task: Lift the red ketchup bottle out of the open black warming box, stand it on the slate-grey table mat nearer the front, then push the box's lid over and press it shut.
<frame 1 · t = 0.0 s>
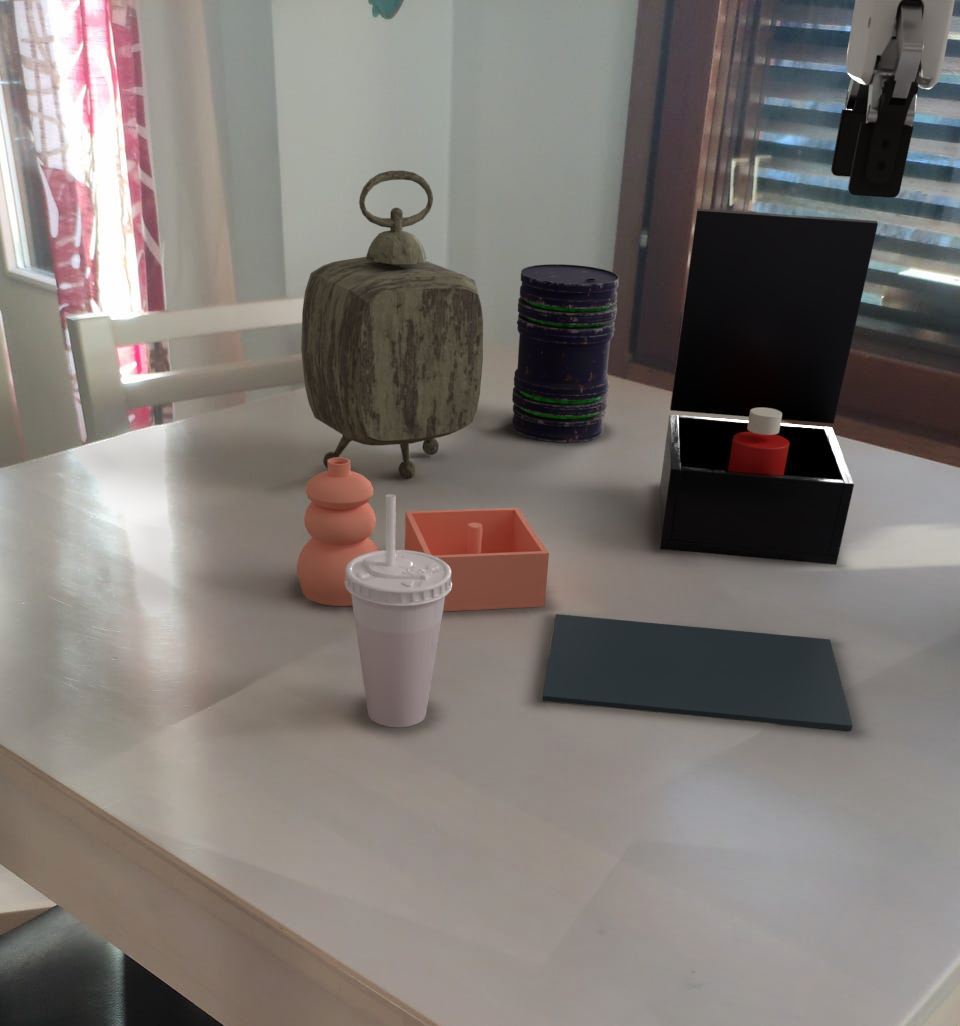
hand: (862, 185, 85), 28 cm above the table, tool pointing down, fingers open, 9 cm apart
smoothie: (397, 715, 80), on the table
tabletop clock: (396, 473, 118), on the table
ketchup: (746, 527, 108), point 1 cm above the table, touching warming box
warming box: (742, 524, 111), on the table
lid: (768, 320, 108), point 15 cm above the table, hinge at 85.0°
pottery: (415, 588, 97), on the table
mat: (693, 671, 87), on the table
dark purple barrel: (557, 430, 132), on the table
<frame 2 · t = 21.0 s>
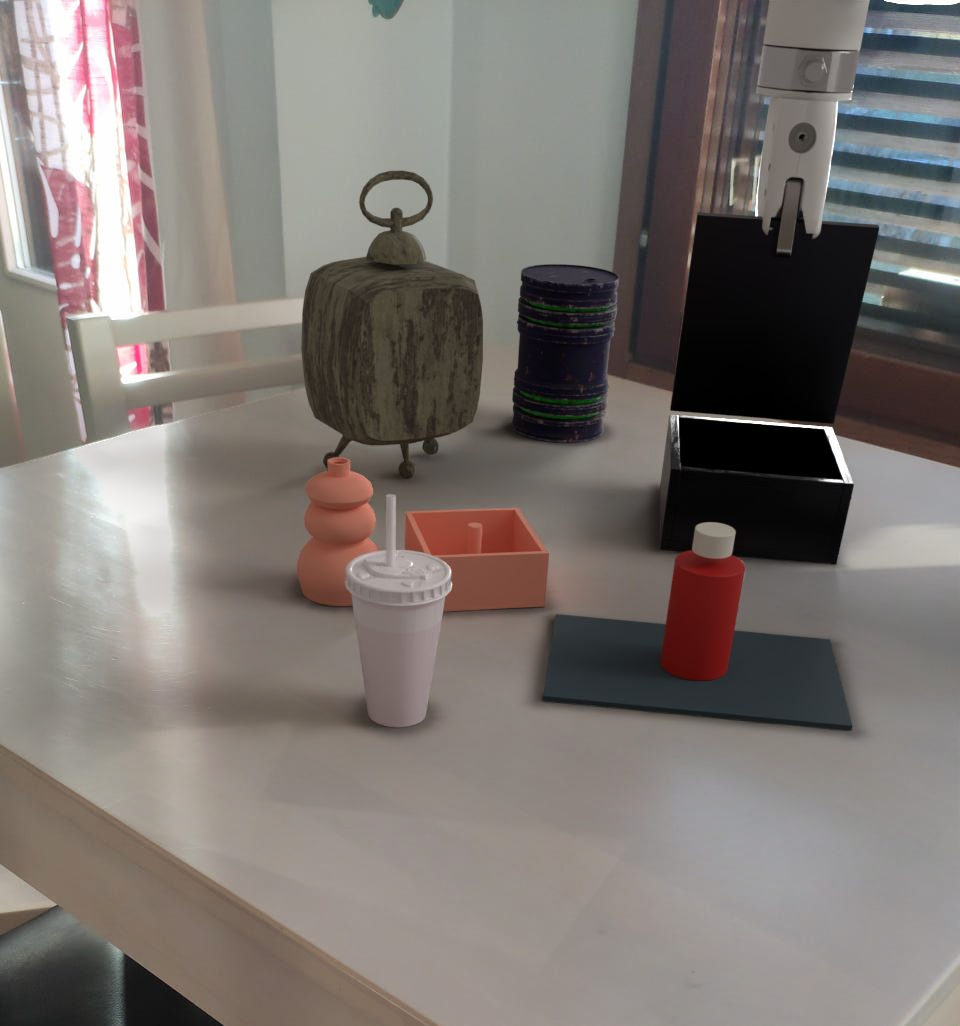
hand: (765, 321, 110), 15 cm above the table, tool pointing down, fingers closed
ketchup: (693, 665, 87), resting on mat
lid: (768, 322, 107), point 15 cm above the table, hinge at 80.9°, touching gripper
everything else where it was.
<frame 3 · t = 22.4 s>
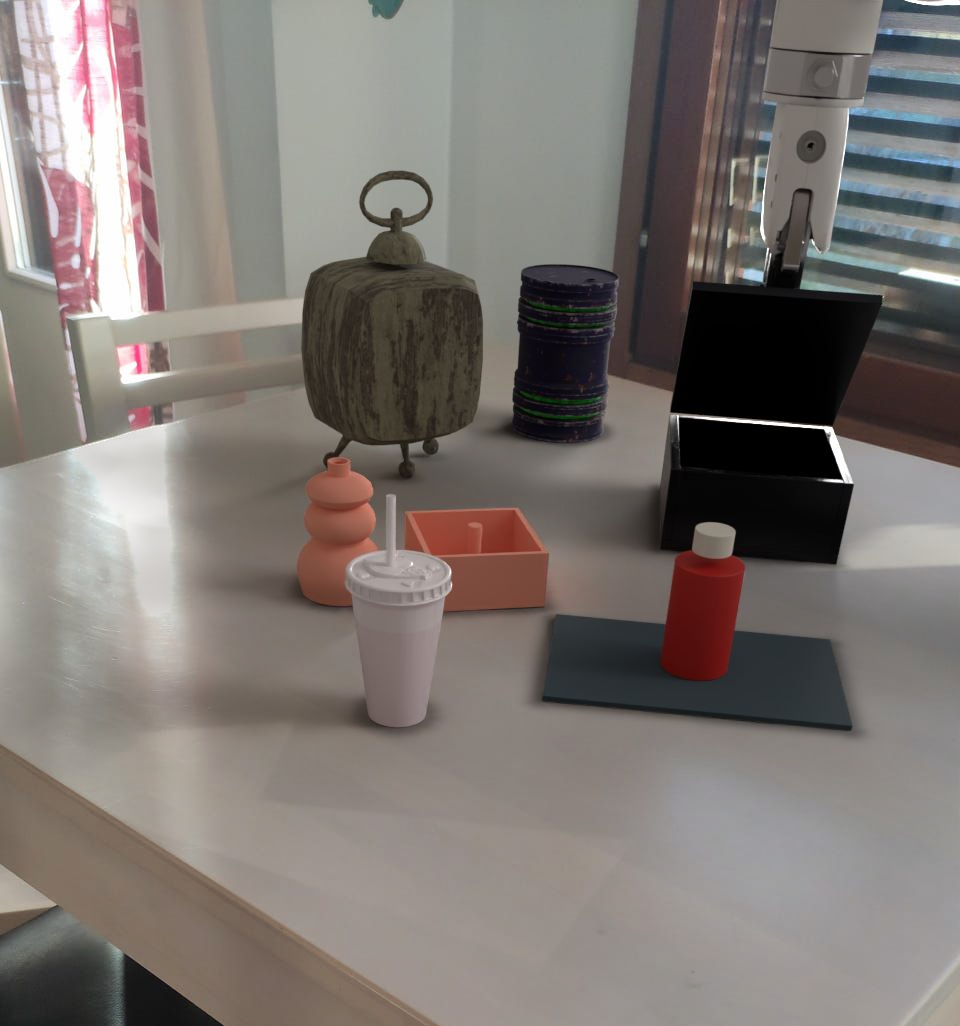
hand: (771, 338, 104), 15 cm above the table, tool pointing down, fingers closed
lid: (767, 358, 105), point 13 cm above the table, hinge at 48.7°, touching gripper
everything else where it was.
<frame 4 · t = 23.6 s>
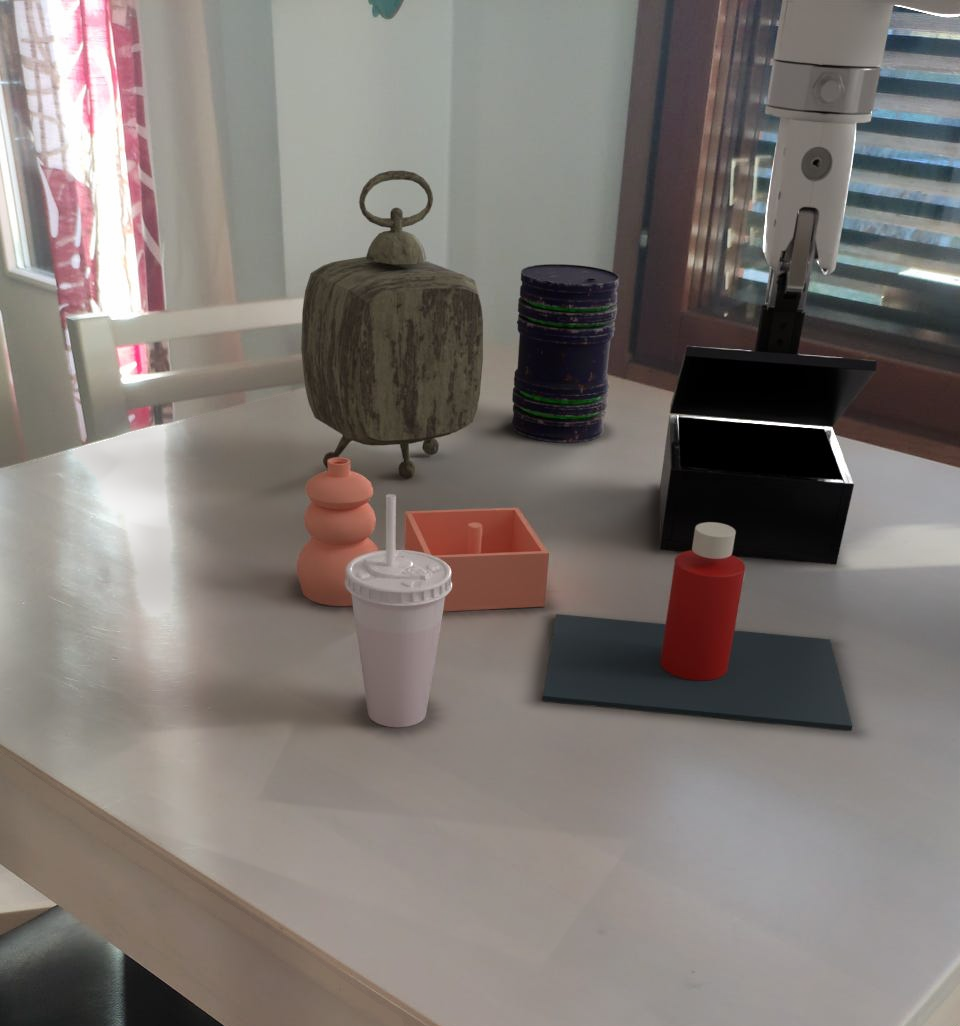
hand: (774, 361, 100), 14 cm above the table, tool pointing down, fingers closed
lid: (765, 389, 105), point 11 cm above the table, hinge at 30.2°
everything else where it was.
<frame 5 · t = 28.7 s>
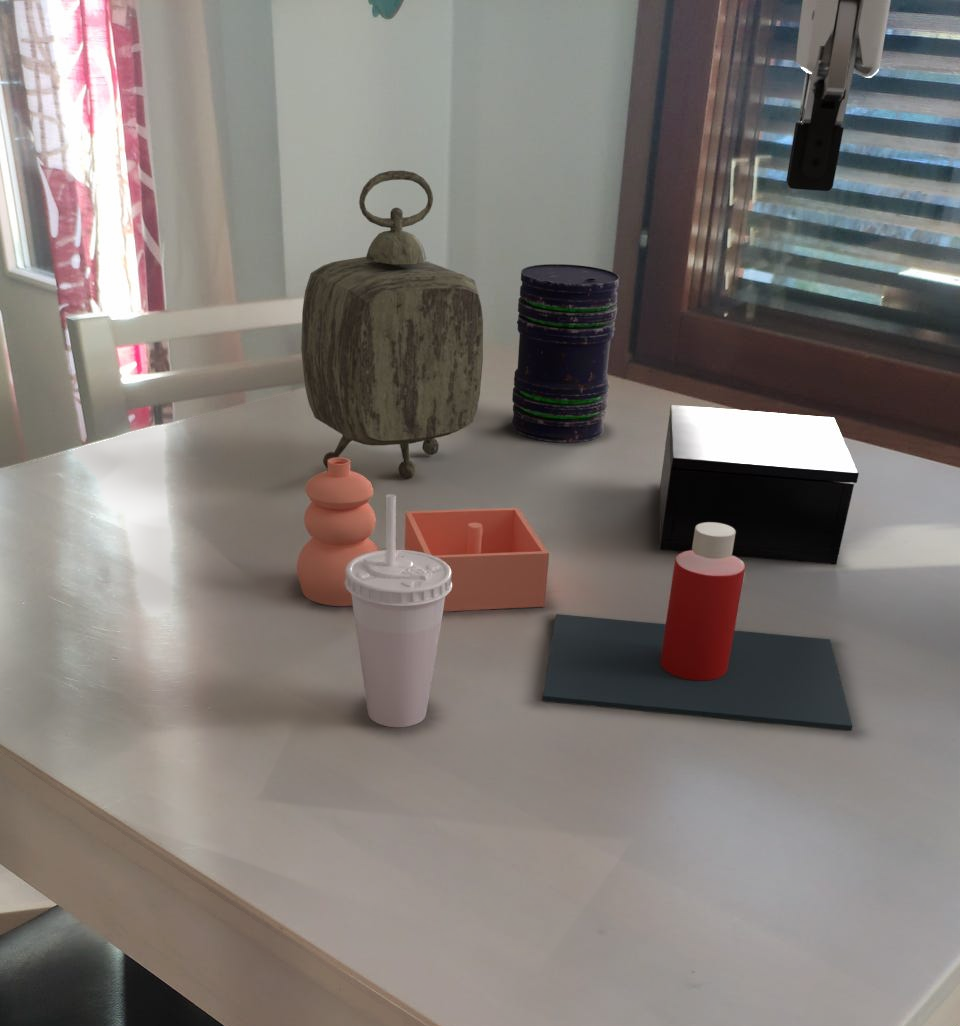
hand: (808, 187, 91), 27 cm above the table, tool pointing down, fingers closed
lid: (757, 441, 106), point 7 cm above the table, hinge at 1.1°
everything else where it was.
at the end: ketchup inside the target area on the mat (0.0 cm from its centre), point 0.4 cm above the mat's base; ketchup tilted 0°; lid at +1° (first picture: +85°) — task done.
